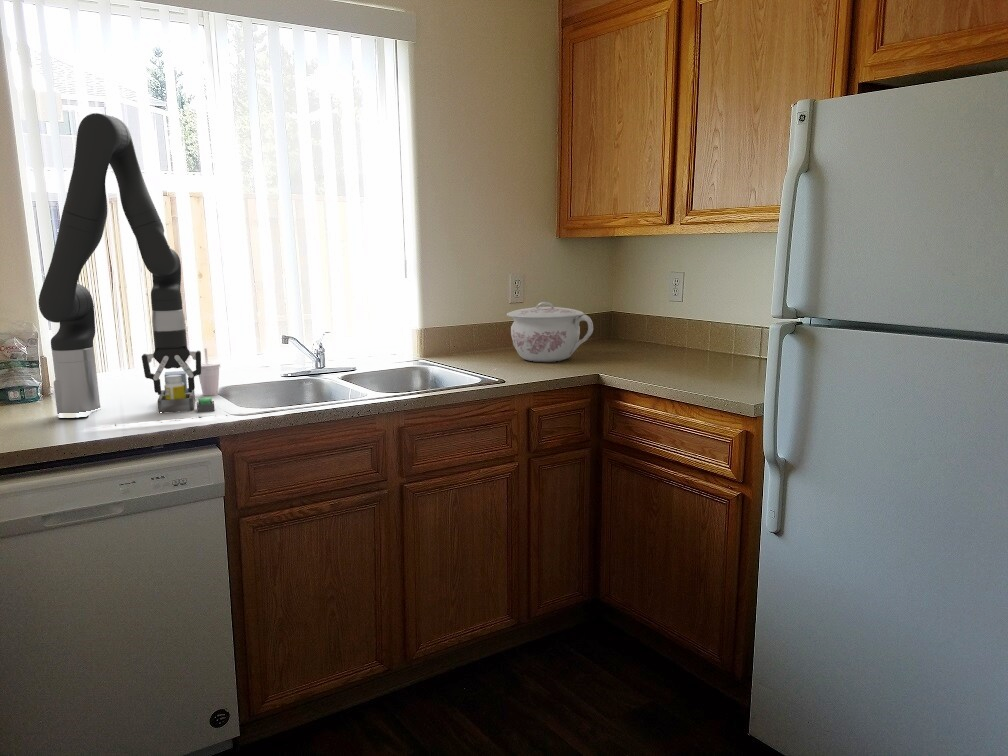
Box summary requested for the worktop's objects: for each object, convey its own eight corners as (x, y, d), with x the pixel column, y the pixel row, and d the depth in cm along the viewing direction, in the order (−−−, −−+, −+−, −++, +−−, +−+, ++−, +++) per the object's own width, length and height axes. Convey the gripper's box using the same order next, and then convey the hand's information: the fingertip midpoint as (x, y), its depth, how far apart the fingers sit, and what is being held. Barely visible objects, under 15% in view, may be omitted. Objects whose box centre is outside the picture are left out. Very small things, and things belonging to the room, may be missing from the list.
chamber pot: (494, 357, 278) (493, 301, 274) (560, 352, 289) (560, 297, 286) (529, 368, 253) (528, 306, 249) (599, 361, 264) (599, 302, 261)
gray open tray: (158, 418, 188) (156, 401, 188) (162, 405, 204) (160, 389, 203) (194, 415, 191) (193, 398, 190) (195, 402, 207) (194, 387, 206)
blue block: (167, 405, 198) (164, 375, 196) (168, 401, 202) (165, 372, 201) (188, 403, 200) (185, 373, 198) (188, 399, 204) (185, 370, 203)
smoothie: (215, 395, 217) (211, 346, 214) (227, 397, 213) (223, 348, 210) (194, 398, 212) (189, 349, 209) (206, 401, 208) (201, 350, 205)
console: (197, 417, 189) (196, 405, 188) (198, 413, 193) (197, 402, 192) (214, 415, 190) (213, 403, 190) (214, 412, 194) (213, 400, 193)
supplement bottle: (189, 406, 196) (187, 374, 195) (182, 410, 191) (179, 377, 190) (171, 406, 196) (168, 374, 194) (163, 410, 191) (160, 377, 190)
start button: (199, 416, 189) (198, 400, 189) (199, 413, 192) (198, 397, 192) (213, 415, 191) (211, 399, 190) (213, 412, 193) (211, 396, 193)
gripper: (136, 331, 184) (143, 398, 187) (199, 328, 189) (205, 393, 192) (138, 328, 191) (145, 393, 194) (200, 325, 196) (205, 388, 199)
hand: (175, 392), depth 193 cm, fingers open, 6 cm apart
